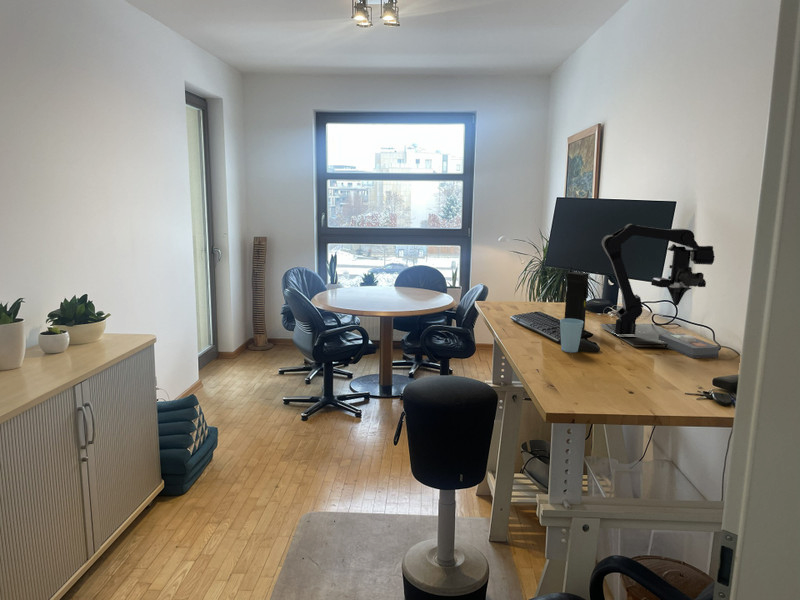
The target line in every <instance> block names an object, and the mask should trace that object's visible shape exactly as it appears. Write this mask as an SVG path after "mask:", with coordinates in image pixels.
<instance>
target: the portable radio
mask: <svg viewBox="0 0 800 600" xmlns="http://www.w3.org/2000/svg"><path fill="white" fill-rule="evenodd" d="M572 269H573V265H570V270H569V271H568V272H567V273H566V281H567V284H566V293H565V294H566V296H565V306H564V307H565V308H564V318H563V319H566V318H570V319H578V320H582V321H583V322H584V323H583V328H582V331H584V330H585V327H586V312H587V299H588V298H589V277H590V276H589V275H590V273H588V272H587V273H586V272H580V271H573V270H572Z"/></svg>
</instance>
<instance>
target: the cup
mask: <svg viewBox="0 0 800 600" xmlns="http://www.w3.org/2000/svg"><path fill="white" fill-rule="evenodd" d="M559 322H560V323H559V326H560V347H561V348H560V349H561V351H563V352H565V353H578V352H579V346H580V341H581V337H582V332H583V330H582V328H583V323H584V322H583V321H582V320H578V319H570V318H566V319H564V318H561V319H560V320H559Z"/></svg>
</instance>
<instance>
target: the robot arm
mask: <svg viewBox="0 0 800 600" xmlns="http://www.w3.org/2000/svg"><path fill="white" fill-rule="evenodd" d="M633 236H639V237H643V238H652V239H659V240H666V241H668V242H672V243H673V244H672V245H671V246H669V247H668V248H667V251H670V252H672V261H671V262H672V263H671V265H669V269H671V271H670V275H668V276H667V277H668V278H665V277H653V278H652V280H651V284H650V285H651V286H655V287H658V288H666V289H667V290H668V293H669V294H670V297H671V300H672V303H673V305H674V306H679V304H680V303H681V301H682V298H683V296H684V295H685V293H687V292H688V291H689V290H691V289H692V287H695V288H696V287H697V288H706V287H707V285H706V284H707V282H706V280H705V279H704V273H703V272H696V273H695V272H693V268H692V266H690V265H691V264H690V262H692V263H693V264H694V265H711V266H712V265H713V263H714V262H715V251H714V246H712V245H699V244H698V243H697V242H696V239H695V234H694V232H693V231H692V230H690V229H688V228H669V229H667V228H666V229H665V228H659V227H658V228H657V227H650V226H643V225H636V224H633V223H628V224H626V225H624V227H623V228H620V229H619V230H617V231H615V232H613V233H612V234H607V235H606V236H605V235H604V236H603V238H602V240H601V246H602V248H603V250H604V252H605V254H606V255H607V257H608V258H609V260H610V263H611V266H612V269H613V271H614V275H615V278H616V280H617V284H618V287H619V290H620V293H621V303H622V307H621V308H620V309H618V310H617V311H616V312H615V313H616V317H617V318H616V319H615V329H614V332H612V335H614V336H616V337H618V336H617V335H615V334H614V333H616V334H635V335H636V329H637V328H636V327H637V324H636V321H637V319H638V318H639V317H640V316H641V315H642V314H643V308H644V306H643V304H642V299H641V296H640V295H638V294H635V293H634V292H633V288H632V285H631V282H630V279H629V276H628V273H627V270H626V266H625V264H624V261H623V257H622V250H623V249H622V244H624V243H625V242H627V241H628V240H630V238H632V237H633ZM676 244H678V245H681V246H677V245H676ZM686 247H687V248H690V249H687V248H686Z"/></svg>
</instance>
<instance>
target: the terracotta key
mask: <svg viewBox="0 0 800 600" xmlns="http://www.w3.org/2000/svg"><path fill="white" fill-rule="evenodd" d="M691 344H692V345H695V346H698V347H704V346H707V345H705V344H702V343H691Z"/></svg>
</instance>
